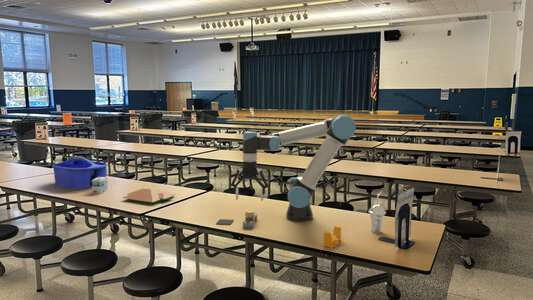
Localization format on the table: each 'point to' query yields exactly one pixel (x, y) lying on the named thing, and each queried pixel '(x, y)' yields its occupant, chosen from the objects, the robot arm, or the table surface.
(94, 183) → the light bulb box
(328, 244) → the pipe clamp
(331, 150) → the robot arm
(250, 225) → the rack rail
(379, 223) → the cup with straw
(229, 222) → the rubber mat
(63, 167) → the caddy
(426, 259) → the table surface
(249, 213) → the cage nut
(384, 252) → the table surface
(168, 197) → the house
